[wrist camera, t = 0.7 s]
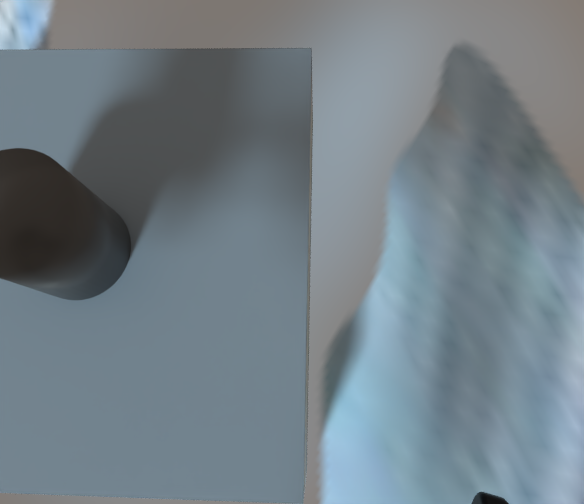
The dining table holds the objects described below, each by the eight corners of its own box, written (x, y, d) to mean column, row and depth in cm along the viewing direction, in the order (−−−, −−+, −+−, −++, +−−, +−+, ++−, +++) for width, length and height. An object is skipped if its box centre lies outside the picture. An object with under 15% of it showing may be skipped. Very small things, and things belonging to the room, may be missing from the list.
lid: (304, 492, 18) (297, 547, 12) (-144, 476, 19) (-361, 520, 13) (311, 74, 22) (310, -44, 16) (-63, 75, 23) (-202, -37, 17)
